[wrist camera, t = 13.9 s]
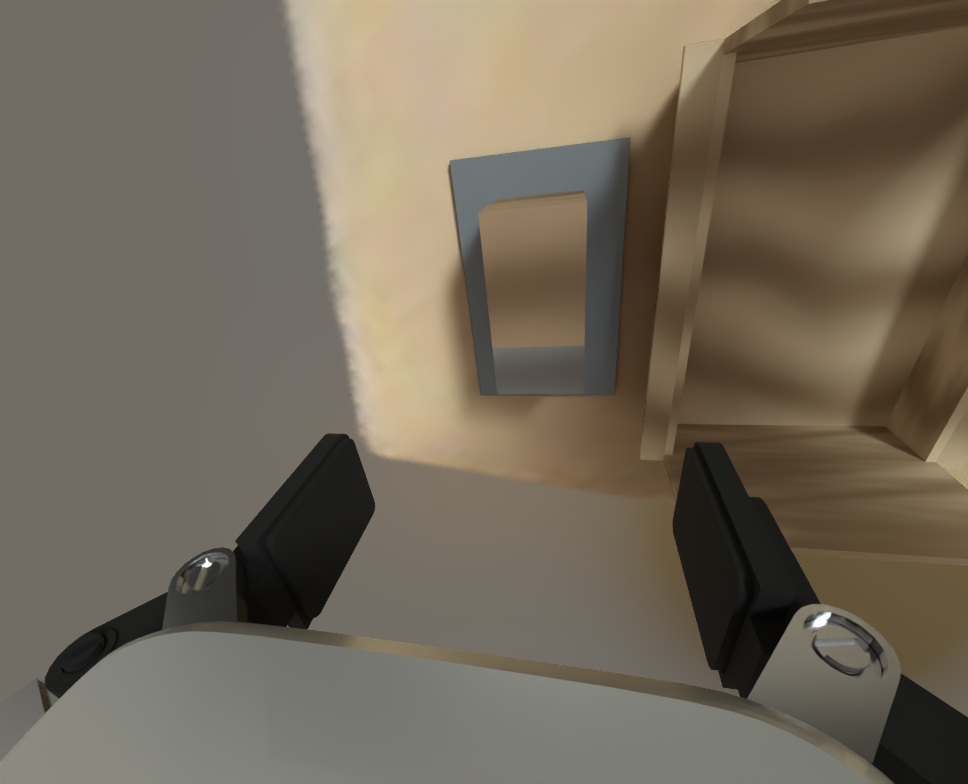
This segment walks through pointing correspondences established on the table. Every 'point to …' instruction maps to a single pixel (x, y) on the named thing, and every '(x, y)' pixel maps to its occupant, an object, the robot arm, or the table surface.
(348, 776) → the robot arm
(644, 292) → the table surface
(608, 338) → the rubber mat
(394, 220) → the table surface
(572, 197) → the walnut block
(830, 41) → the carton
